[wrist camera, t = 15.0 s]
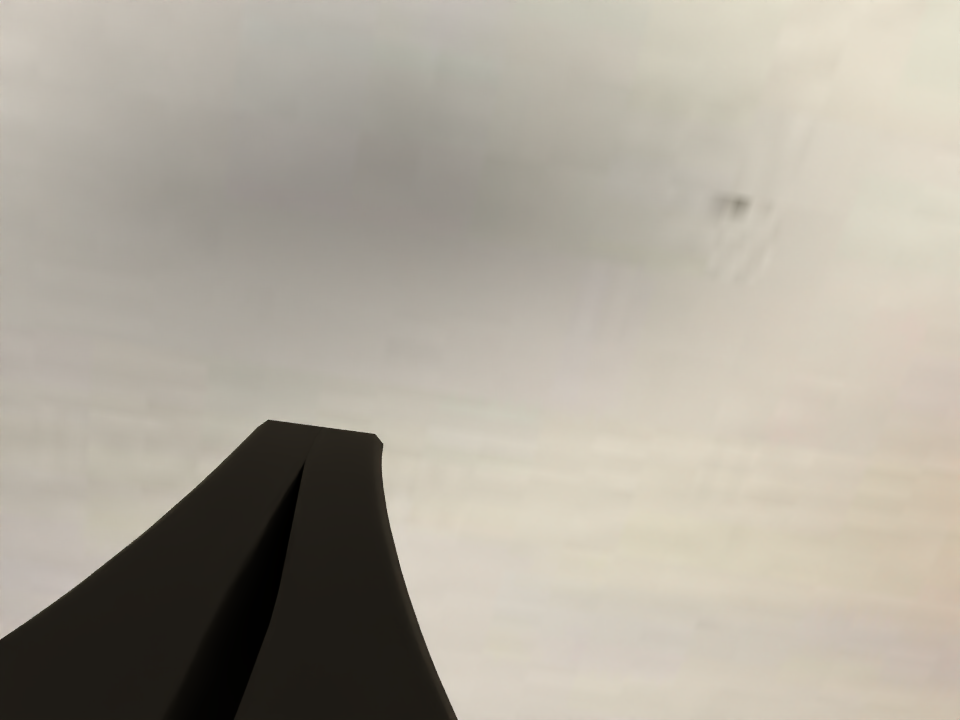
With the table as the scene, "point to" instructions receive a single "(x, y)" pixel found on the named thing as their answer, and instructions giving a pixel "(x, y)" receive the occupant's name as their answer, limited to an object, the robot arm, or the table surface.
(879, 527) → the table surface
